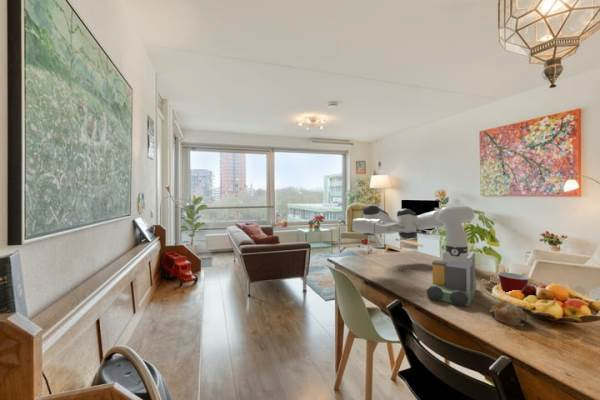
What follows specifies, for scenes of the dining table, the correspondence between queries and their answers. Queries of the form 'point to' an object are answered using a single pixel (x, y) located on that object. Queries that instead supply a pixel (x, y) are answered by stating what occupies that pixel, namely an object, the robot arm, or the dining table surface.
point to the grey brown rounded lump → (508, 314)
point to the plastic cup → (512, 281)
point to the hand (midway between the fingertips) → (402, 228)
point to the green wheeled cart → (456, 283)
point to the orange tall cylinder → (439, 272)
